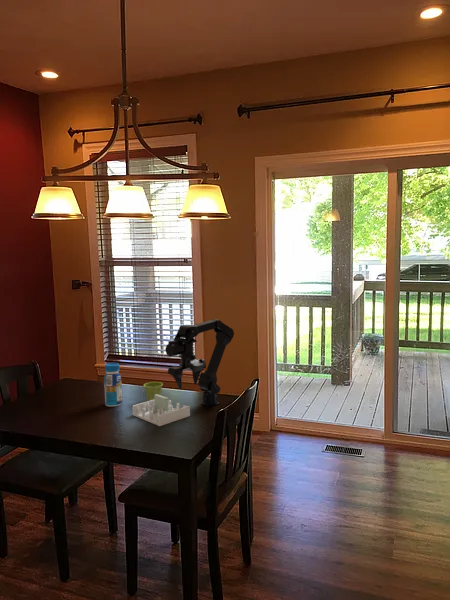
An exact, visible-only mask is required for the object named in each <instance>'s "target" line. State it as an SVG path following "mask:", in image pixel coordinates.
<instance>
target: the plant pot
mask: <svg viewBox="0 0 450 600" xmlns="http://www.w3.org/2000/svg"><path fill="white" fill-rule="evenodd" d="M163 385H164V384H163V382H159V381H150V382H146V383H144V384H143V387H144V389H145V394H146V400H147V401H150V400H154V395H156V394H158V395H161V396H162V388H163Z"/></svg>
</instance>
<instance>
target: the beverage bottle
mask: <svg viewBox="0 0 450 600" xmlns="http://www.w3.org/2000/svg"><path fill="white" fill-rule="evenodd" d="M104 371H105V375H104V376H103V379H104V381H103V386H104V404H105V406H106V407H111V408H112V407H119V406H121V405H122V404H123V394H122V393H123V392H122V389H123V388H122V384H123V383H122V380H121V379H122V376H121V373H120V372H119V371H120V364H119V362H108V363H106V364H105V365H104Z"/></svg>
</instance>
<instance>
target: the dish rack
mask: <svg viewBox="0 0 450 600" xmlns="http://www.w3.org/2000/svg"><path fill="white" fill-rule="evenodd" d="M190 409H191V408H190V405H186V404H185V405H184V404H183V405H182V407H181V408H180V403H179V402H177V403H176V408H175V407H173V404H172V400H171V399H168V410H167V413H166V411H164V414H163V408H160V409H157V413H156V412H155V403H154V400H150V401H148V400H147V401H144V402H140V403H137V404H134V405H132V416H134V417H137V418H139V419H141V420H144V421H145V422H149V423H151V424H153V425H156V426H158V427H161V426H164V425H167V424H171V423H173V422H176V421H179V420H182V419H185V418H189V417H190V416H191V410H190Z"/></svg>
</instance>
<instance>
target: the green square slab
mask: <svg viewBox="0 0 450 600" xmlns="http://www.w3.org/2000/svg"><path fill="white" fill-rule="evenodd" d="M168 401H169V398H168V397H167V396H164V395H162V394H161V395H158V394H156V395H154V403H155V412H156V413H157V409H160V408H163V414H164V411H166V413H167V410H168V406H169V404H168Z"/></svg>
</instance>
